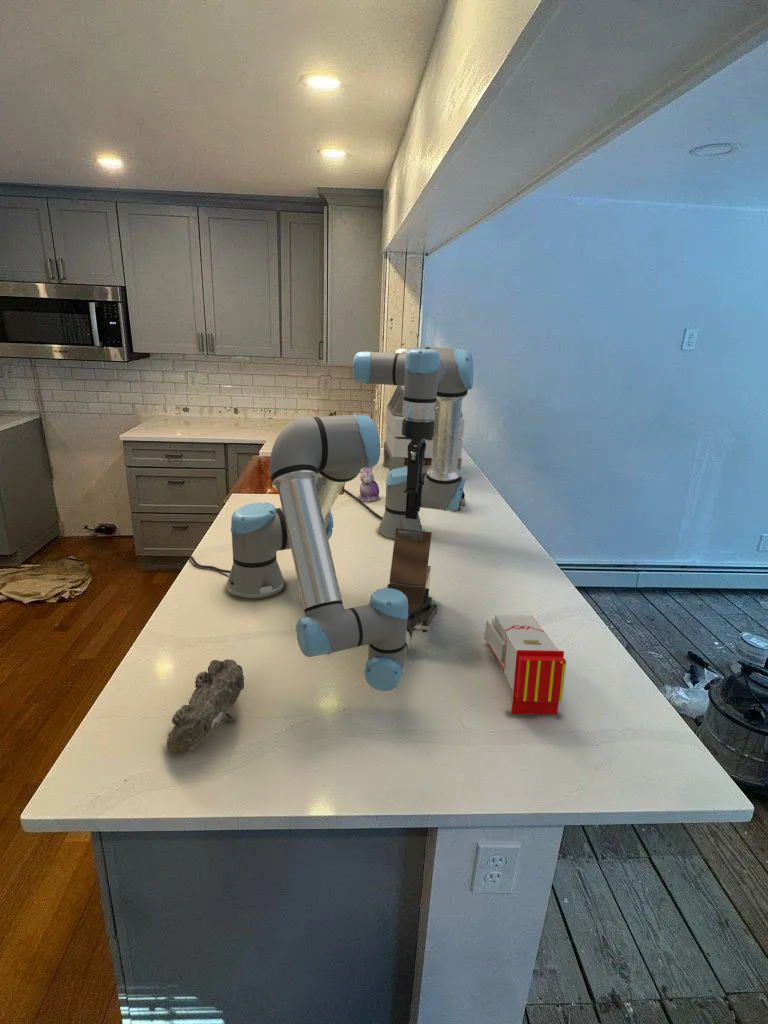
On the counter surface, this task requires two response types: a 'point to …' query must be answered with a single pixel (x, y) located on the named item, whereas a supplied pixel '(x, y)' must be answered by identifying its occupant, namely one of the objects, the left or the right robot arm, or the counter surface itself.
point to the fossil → (206, 705)
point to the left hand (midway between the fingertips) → (408, 590)
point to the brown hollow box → (413, 592)
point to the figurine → (368, 486)
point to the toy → (527, 663)
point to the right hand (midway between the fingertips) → (412, 514)
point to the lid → (410, 557)
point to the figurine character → (462, 501)
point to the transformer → (398, 443)
